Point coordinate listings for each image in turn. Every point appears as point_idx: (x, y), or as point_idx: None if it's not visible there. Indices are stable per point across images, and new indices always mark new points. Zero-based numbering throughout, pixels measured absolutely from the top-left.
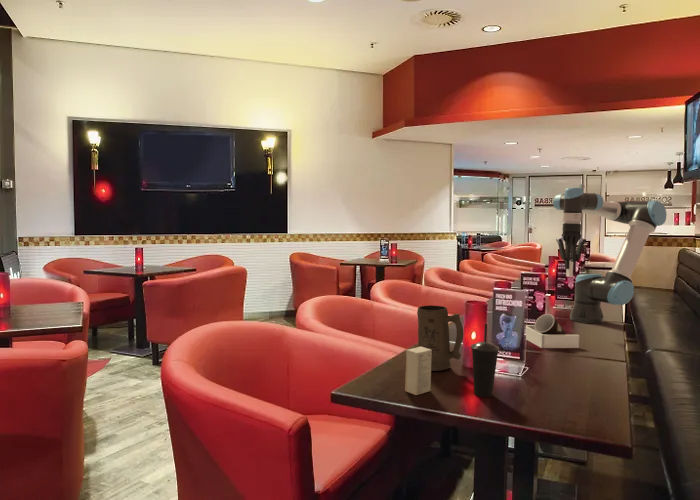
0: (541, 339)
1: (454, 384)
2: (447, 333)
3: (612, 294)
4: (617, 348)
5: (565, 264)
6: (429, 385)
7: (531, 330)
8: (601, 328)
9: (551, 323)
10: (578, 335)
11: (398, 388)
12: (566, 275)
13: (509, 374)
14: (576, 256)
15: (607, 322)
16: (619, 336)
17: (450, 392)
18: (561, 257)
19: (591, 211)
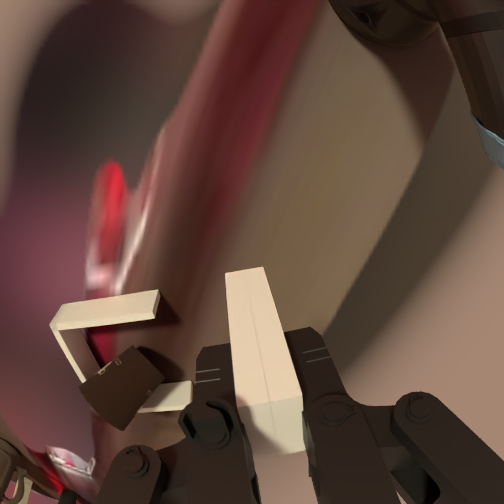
0: None
1: (41, 477)
2: (7, 485)
3: (496, 155)
4: None
5: (199, 398)
6: (31, 485)
7: (77, 372)
8: (381, 123)
9: (122, 383)
10: None
11: None
12: (226, 281)
13: (78, 470)
14: (439, 449)
15: (437, 31)
16: (376, 242)
17: (46, 485)
18: (118, 488)
19: None
